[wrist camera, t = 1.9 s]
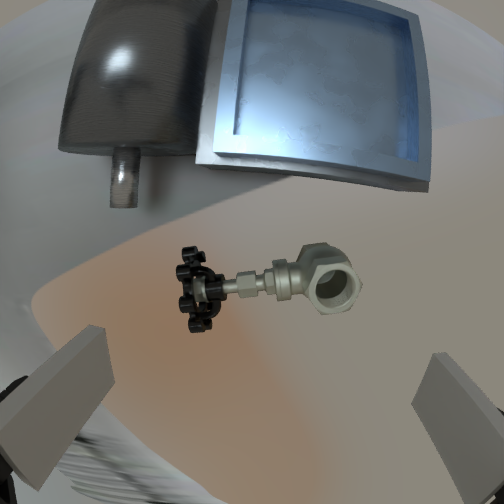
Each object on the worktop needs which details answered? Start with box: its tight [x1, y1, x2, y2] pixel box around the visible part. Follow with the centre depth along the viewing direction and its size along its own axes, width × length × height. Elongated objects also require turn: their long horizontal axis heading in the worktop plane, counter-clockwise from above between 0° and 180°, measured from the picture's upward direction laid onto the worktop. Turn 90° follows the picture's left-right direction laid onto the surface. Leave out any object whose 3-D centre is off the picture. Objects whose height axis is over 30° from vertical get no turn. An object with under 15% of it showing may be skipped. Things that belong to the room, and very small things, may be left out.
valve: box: [176, 243, 363, 333], centre depth 20 cm, size 7×7×12 cm
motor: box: [58, 0, 432, 208], centre depth 16 cm, size 26×17×10 cm, turn 85°
